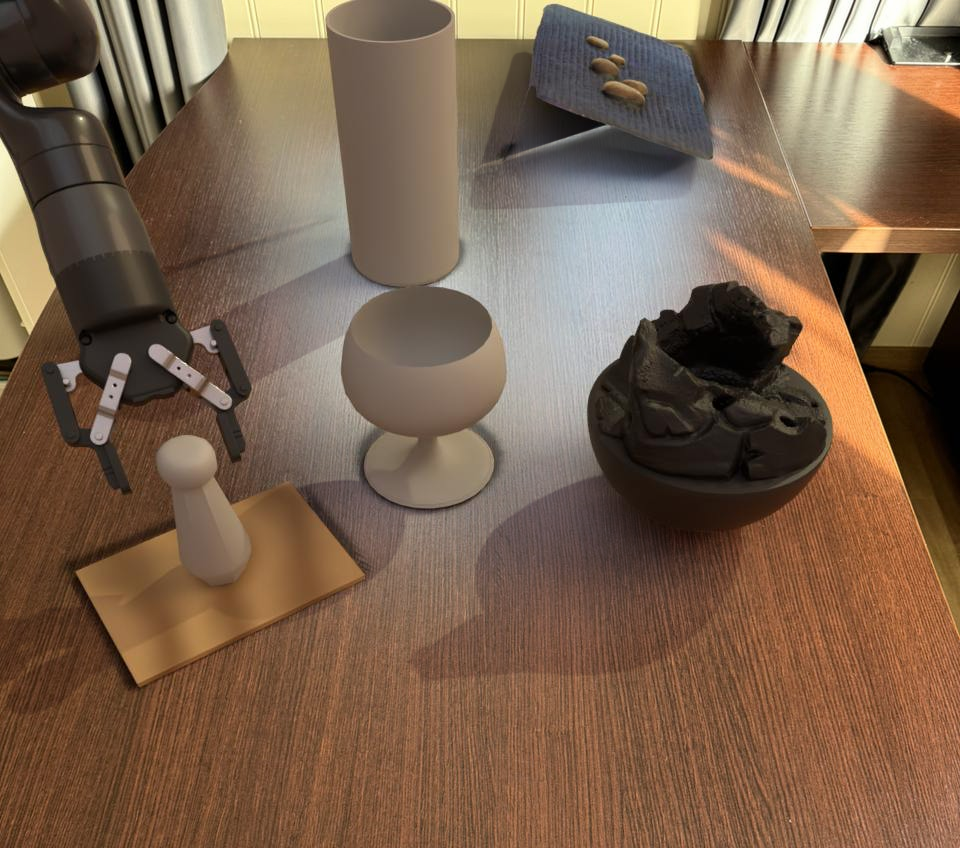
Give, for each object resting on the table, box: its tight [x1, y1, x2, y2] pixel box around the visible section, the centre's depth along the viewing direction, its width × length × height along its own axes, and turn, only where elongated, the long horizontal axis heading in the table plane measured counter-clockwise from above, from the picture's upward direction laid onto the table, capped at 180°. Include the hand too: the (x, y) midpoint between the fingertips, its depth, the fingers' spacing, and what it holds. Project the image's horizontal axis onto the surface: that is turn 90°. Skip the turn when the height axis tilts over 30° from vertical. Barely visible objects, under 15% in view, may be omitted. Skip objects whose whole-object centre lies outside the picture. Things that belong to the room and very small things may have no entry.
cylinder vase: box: [324, 0, 460, 288], centre depth 99 cm, size 12×12×25 cm
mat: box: [503, 3, 714, 161], centre depth 134 cm, size 45×27×12 cm, turn 177°
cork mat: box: [75, 480, 366, 688], centre depth 78 cm, size 20×14×1 cm
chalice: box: [340, 285, 508, 509], centre depth 81 cm, size 14×14×15 cm
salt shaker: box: [155, 434, 251, 587], centre depth 73 cm, size 6×6×13 cm
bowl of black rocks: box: [586, 280, 834, 533], centre depth 77 cm, size 20×20×19 cm
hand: (183, 477), depth 71 cm, fingers open, 8 cm apart
